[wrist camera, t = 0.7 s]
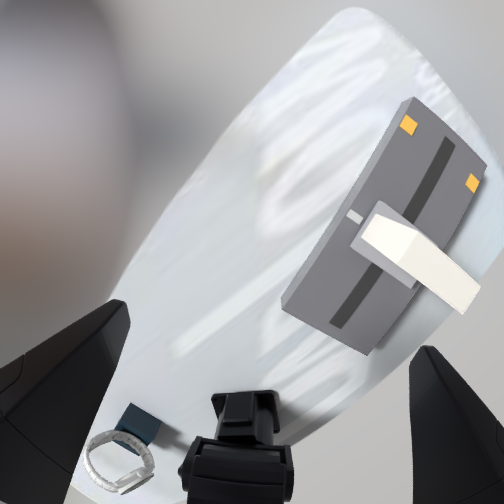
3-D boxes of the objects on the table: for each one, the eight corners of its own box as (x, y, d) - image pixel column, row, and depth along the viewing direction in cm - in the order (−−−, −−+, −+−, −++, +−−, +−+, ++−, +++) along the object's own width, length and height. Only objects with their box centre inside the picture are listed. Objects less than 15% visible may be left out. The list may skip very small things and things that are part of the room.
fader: (405, 284, 22) (452, 328, 15) (349, 245, 22) (385, 281, 14) (432, 243, 21) (489, 272, 14) (378, 200, 21) (428, 214, 13)
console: (360, 341, 27) (367, 356, 24) (281, 297, 26) (281, 310, 23) (471, 165, 22) (488, 165, 19) (402, 102, 21) (414, 96, 19)
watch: (159, 447, 32) (134, 509, 22) (106, 415, 32) (70, 473, 21) (176, 428, 31) (150, 498, 21) (118, 394, 30) (77, 457, 20)
